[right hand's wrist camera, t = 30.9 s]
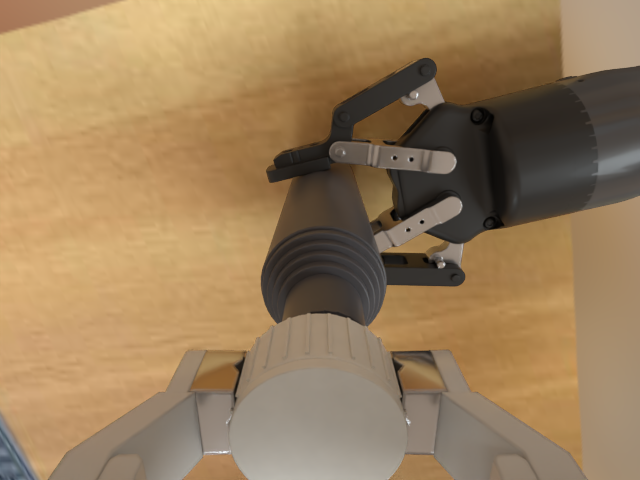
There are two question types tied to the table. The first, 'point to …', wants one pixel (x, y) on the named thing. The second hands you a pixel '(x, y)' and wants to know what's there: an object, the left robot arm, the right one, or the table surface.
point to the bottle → (324, 252)
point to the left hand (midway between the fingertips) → (282, 215)
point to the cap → (318, 404)
